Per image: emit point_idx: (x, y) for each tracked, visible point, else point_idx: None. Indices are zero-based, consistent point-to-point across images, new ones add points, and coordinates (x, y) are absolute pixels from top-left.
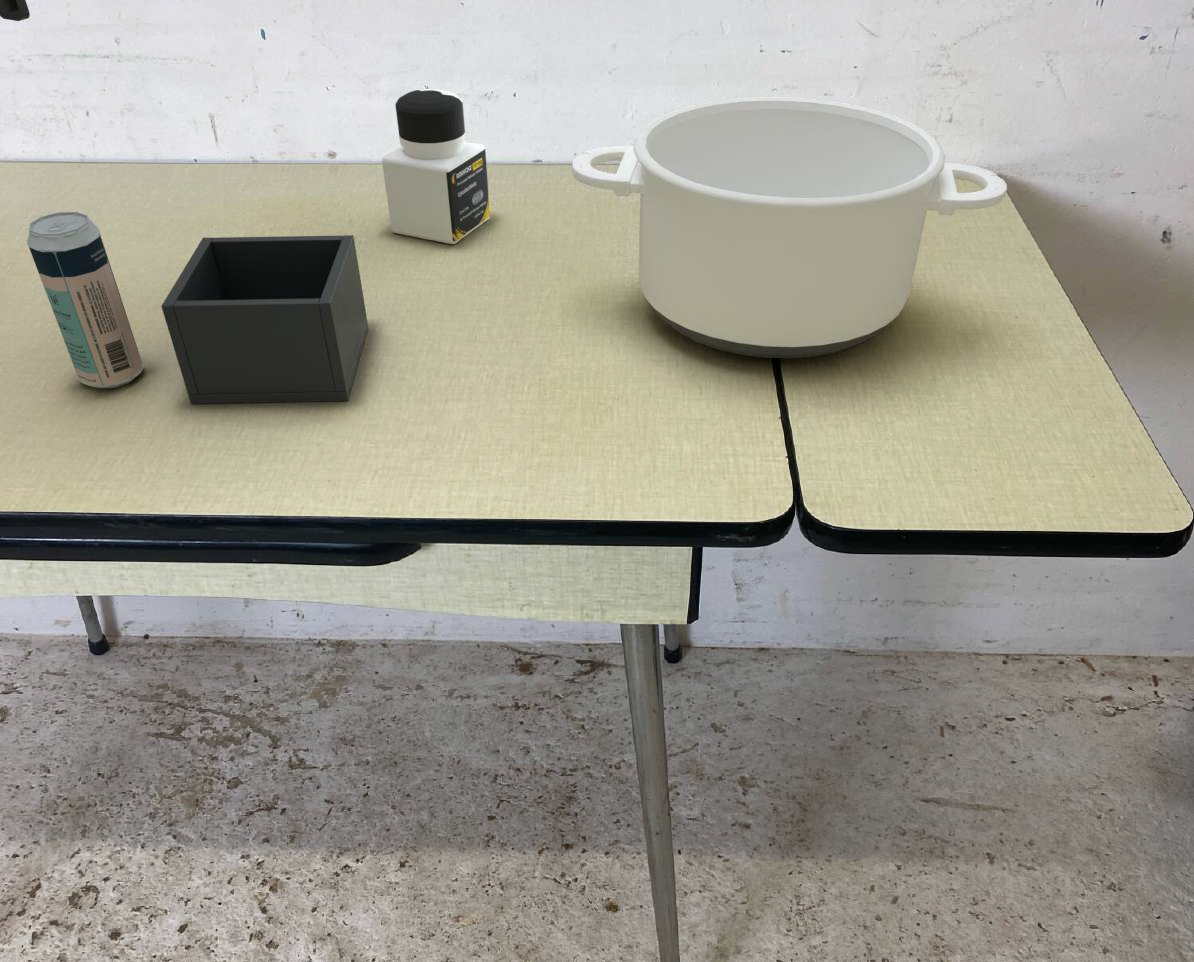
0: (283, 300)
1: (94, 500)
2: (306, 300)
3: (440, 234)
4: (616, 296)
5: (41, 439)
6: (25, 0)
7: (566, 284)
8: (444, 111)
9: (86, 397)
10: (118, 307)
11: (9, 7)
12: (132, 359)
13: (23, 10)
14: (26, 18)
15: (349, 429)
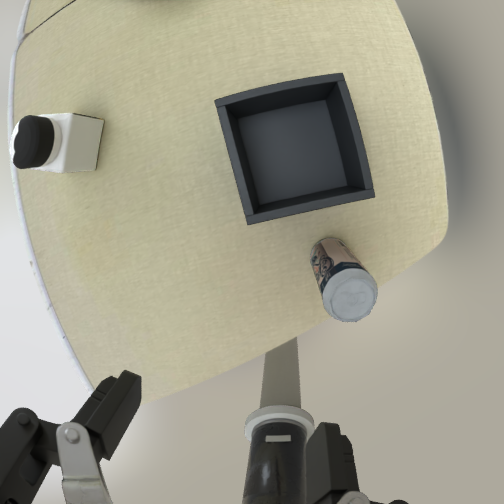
0: (347, 106)
1: (439, 201)
2: (343, 89)
3: (99, 128)
4: (160, 5)
5: (396, 259)
6: (325, 437)
7: (148, 32)
8: (35, 118)
9: None
10: (338, 251)
11: (343, 439)
12: (334, 241)
13: (334, 428)
14: (325, 422)
15: (357, 85)
